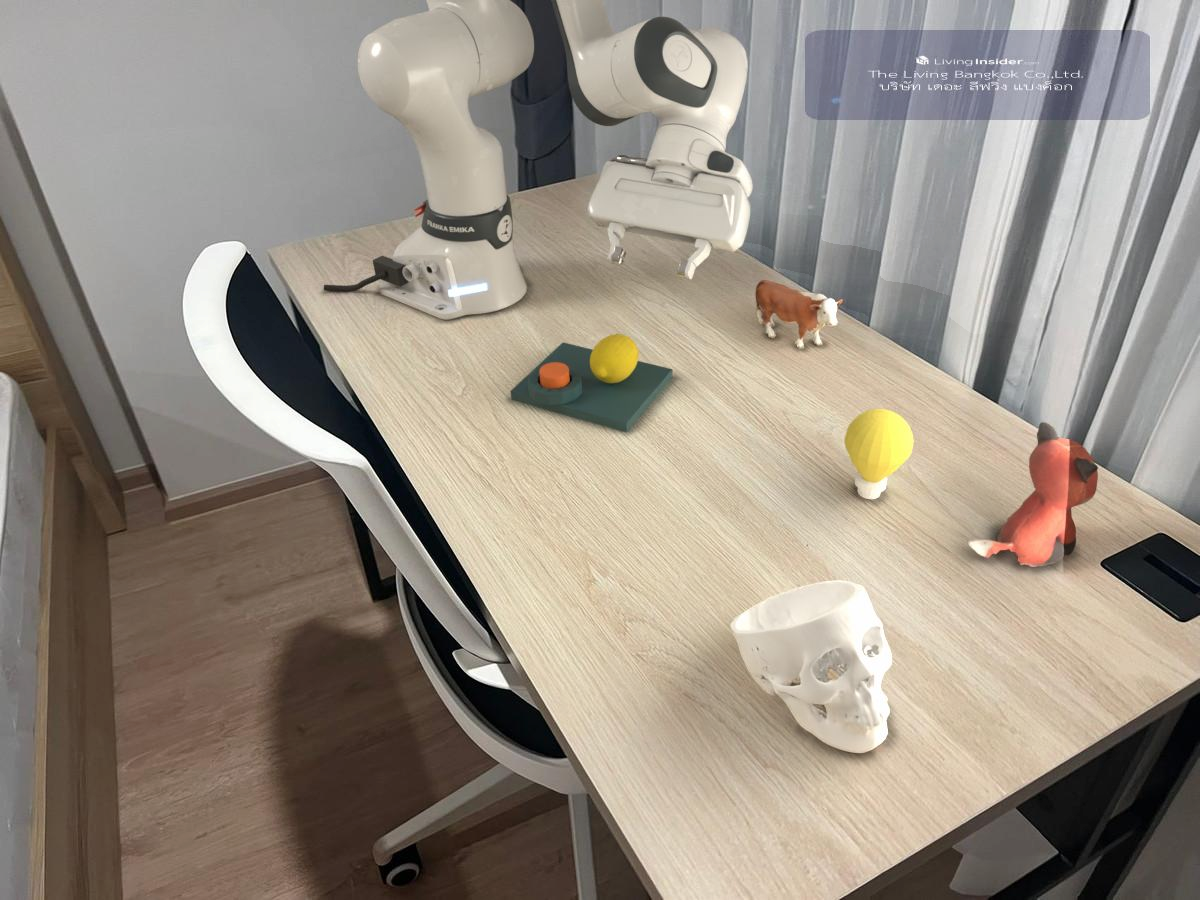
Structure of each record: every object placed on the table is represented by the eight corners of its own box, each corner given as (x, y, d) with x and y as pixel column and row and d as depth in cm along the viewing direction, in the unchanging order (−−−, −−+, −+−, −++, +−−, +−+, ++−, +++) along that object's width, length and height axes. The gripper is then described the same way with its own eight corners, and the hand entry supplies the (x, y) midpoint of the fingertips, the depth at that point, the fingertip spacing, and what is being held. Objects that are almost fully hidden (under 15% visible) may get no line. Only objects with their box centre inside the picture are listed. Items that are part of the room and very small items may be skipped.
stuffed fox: (944, 539, 89) (970, 442, 82) (1032, 508, 93) (1065, 412, 85) (998, 589, 84) (1031, 490, 76) (1090, 554, 87) (1130, 456, 80)
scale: (508, 403, 111) (505, 382, 109) (563, 351, 121) (562, 331, 119) (623, 436, 105) (623, 415, 103) (672, 378, 114) (672, 358, 112)
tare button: (534, 385, 109) (533, 373, 108) (549, 371, 112) (548, 359, 111) (560, 392, 108) (559, 380, 107) (575, 378, 110) (574, 366, 109)
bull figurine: (825, 365, 116) (833, 309, 111) (746, 328, 124) (750, 274, 119) (846, 353, 118) (854, 297, 113) (766, 317, 126) (771, 264, 121)
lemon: (606, 402, 110) (635, 370, 115) (627, 375, 106) (655, 343, 111) (571, 373, 110) (602, 343, 115) (590, 345, 106) (621, 315, 111)
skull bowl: (844, 790, 66) (798, 638, 65) (739, 735, 79) (698, 607, 77) (945, 724, 70) (904, 580, 69) (830, 682, 83) (793, 560, 81)
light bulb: (824, 482, 97) (835, 406, 91) (875, 466, 99) (890, 389, 93) (862, 520, 92) (876, 441, 86) (915, 501, 94) (933, 423, 88)
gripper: (599, 140, 112) (564, 244, 111) (755, 164, 104) (719, 276, 103) (616, 164, 118) (583, 263, 117) (765, 188, 110) (731, 294, 109)
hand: (648, 269), depth 110 cm, fingers open, 8 cm apart
